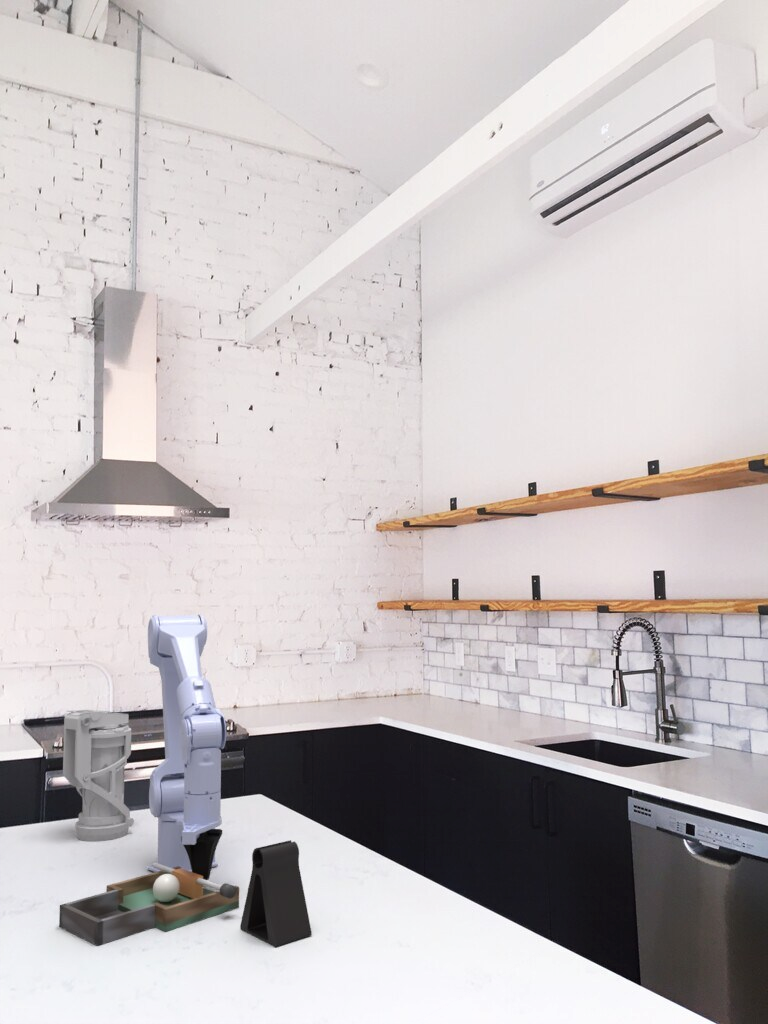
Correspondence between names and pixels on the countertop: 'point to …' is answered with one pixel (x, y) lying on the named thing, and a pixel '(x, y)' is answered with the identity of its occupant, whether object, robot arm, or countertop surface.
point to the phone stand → (276, 896)
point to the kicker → (195, 883)
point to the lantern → (98, 771)
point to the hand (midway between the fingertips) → (201, 879)
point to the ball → (166, 888)
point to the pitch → (137, 910)
